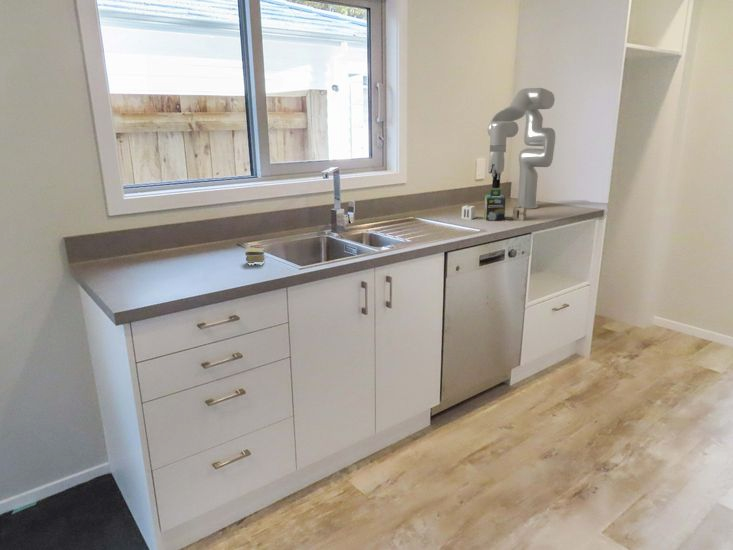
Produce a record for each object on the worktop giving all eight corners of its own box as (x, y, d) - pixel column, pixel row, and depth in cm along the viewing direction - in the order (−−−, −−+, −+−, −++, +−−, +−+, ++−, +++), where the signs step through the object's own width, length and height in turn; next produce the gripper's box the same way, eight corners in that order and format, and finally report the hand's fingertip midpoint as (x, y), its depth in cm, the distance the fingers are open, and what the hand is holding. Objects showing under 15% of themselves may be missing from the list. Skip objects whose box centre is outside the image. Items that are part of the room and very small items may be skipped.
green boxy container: (502, 217, 260) (503, 187, 256) (505, 220, 252) (506, 190, 247) (483, 217, 261) (484, 187, 257) (485, 220, 252) (487, 190, 248)
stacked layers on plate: (271, 261, 190) (270, 246, 188) (267, 267, 181) (266, 252, 179) (243, 261, 189) (242, 246, 188) (238, 268, 181) (237, 253, 179)
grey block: (465, 217, 263) (465, 205, 261) (474, 218, 260) (475, 206, 258) (461, 218, 259) (461, 206, 257) (470, 219, 256) (471, 207, 254)
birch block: (515, 218, 258) (516, 205, 256) (525, 218, 255) (526, 206, 254) (512, 219, 254) (513, 207, 252) (522, 220, 251) (523, 208, 249)
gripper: (495, 147, 255) (493, 185, 260) (484, 150, 243) (483, 189, 248) (510, 148, 251) (508, 186, 256) (500, 150, 239) (498, 190, 244)
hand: (495, 187), depth 252 cm, fingers closed
